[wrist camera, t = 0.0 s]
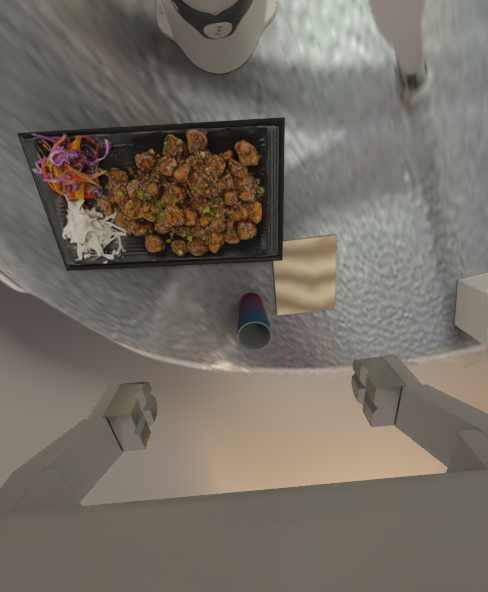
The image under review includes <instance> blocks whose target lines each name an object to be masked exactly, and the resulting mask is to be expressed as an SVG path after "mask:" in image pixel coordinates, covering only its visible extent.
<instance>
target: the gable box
mask: <svg viewBox="0 0 488 592" xmlns="http://www.w3.org/2000/svg"><path fill="white" fill-rule="evenodd" d="M455 325H456V326H457V327H459V328H460V329H461V330H463V331H464V332H466V333H467V334H469V335H470V336H472V337H473V338H475V339H476V340H478V341H479V342H480V343H482V344H483V345H485V346H486V347H488V272H486V273H482V274H478V275H474V276H471V277H467V278H463V279H459V280H458V283H457V298H456V313H455Z"/></svg>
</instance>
